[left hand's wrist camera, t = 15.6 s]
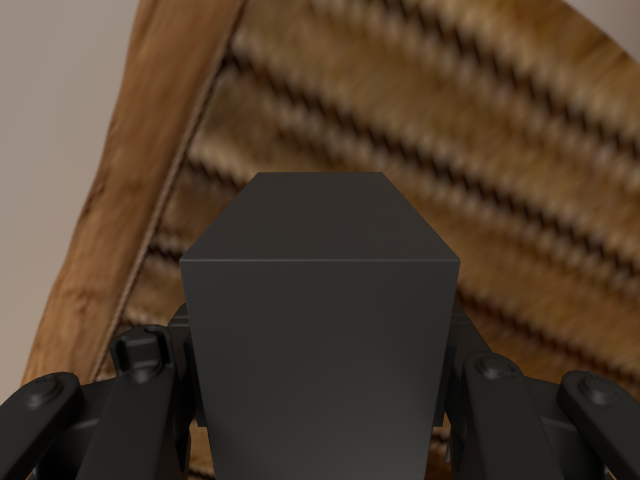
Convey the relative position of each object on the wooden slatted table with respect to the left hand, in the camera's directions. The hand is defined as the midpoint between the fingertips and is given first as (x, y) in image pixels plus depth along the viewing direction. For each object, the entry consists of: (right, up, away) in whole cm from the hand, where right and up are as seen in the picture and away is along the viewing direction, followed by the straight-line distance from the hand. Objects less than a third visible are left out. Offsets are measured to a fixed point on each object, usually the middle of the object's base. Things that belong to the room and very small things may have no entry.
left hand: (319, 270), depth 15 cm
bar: (0, -6, +3) cm, 7 cm away
